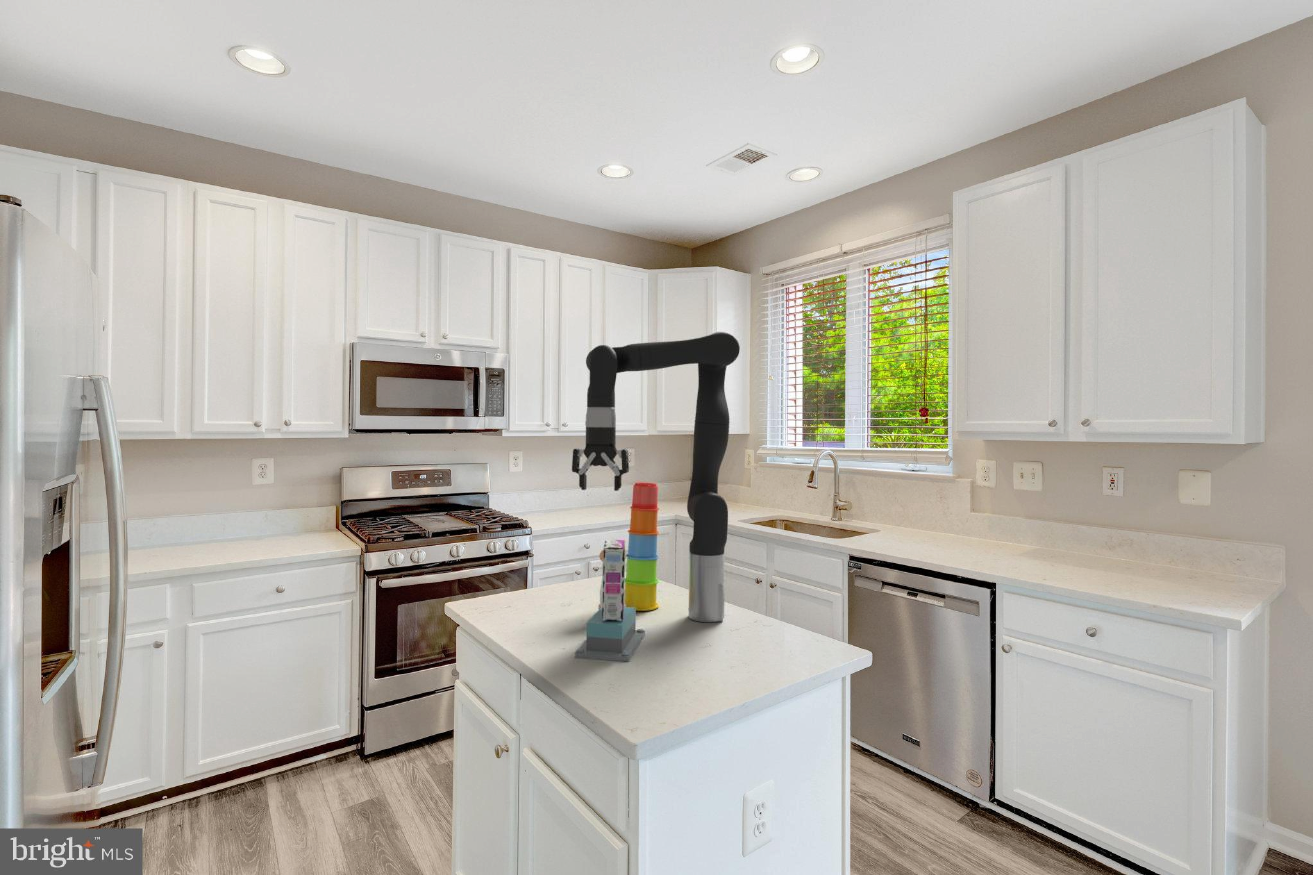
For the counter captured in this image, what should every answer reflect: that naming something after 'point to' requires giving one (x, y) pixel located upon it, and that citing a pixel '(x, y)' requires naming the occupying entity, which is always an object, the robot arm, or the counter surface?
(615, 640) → the teal gray mounted block
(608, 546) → the candy bar box
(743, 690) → the counter surface
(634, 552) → the stacking cups
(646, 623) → the counter surface
